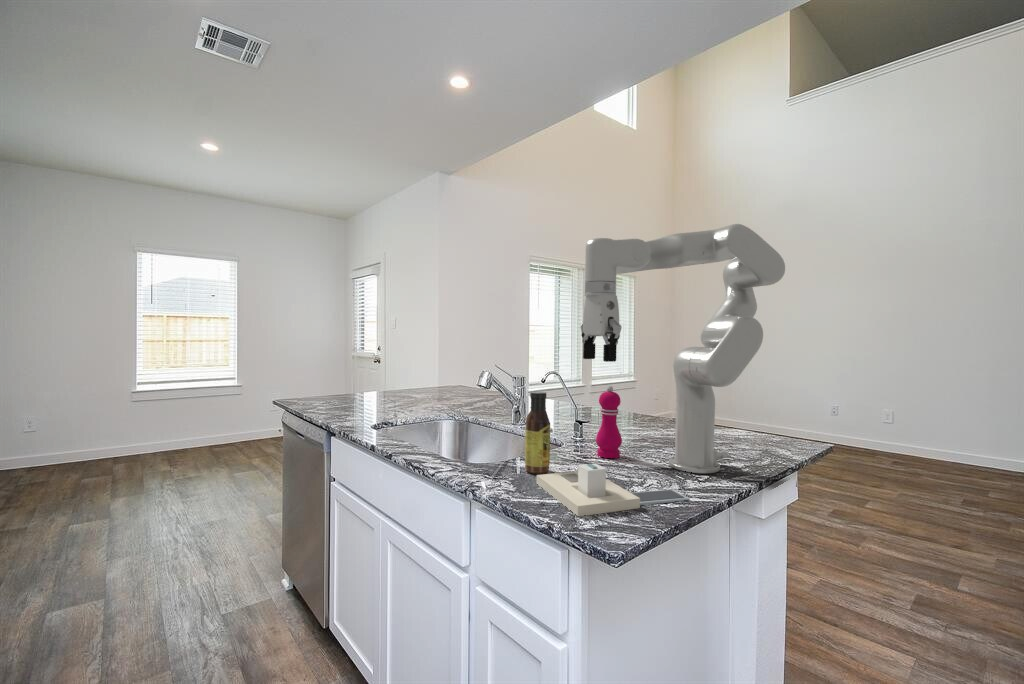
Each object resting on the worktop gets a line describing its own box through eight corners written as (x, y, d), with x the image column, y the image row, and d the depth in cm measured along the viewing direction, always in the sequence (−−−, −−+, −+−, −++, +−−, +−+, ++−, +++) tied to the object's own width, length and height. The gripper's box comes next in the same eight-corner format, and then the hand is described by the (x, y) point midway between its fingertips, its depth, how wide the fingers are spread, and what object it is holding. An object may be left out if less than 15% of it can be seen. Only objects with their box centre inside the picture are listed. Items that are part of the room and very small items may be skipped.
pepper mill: (593, 457, 131) (594, 386, 130) (598, 451, 137) (599, 383, 137) (619, 460, 128) (620, 388, 128) (623, 454, 135) (624, 385, 134)
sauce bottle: (547, 475, 114) (549, 394, 113) (522, 473, 115) (523, 393, 115) (551, 468, 120) (552, 391, 120) (527, 466, 121) (528, 390, 121)
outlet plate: (590, 478, 113) (590, 469, 113) (639, 508, 94) (640, 497, 94) (536, 483, 108) (536, 474, 108) (577, 516, 89) (577, 505, 89)
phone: (672, 493, 104) (672, 488, 104) (689, 503, 99) (689, 497, 99) (623, 497, 101) (624, 492, 101) (638, 507, 95) (638, 502, 95)
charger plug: (595, 495, 101) (595, 462, 100) (605, 502, 97) (606, 467, 97) (577, 497, 99) (578, 463, 99) (587, 504, 95) (587, 469, 95)
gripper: (634, 288, 108) (632, 362, 108) (595, 293, 124) (594, 357, 124) (605, 286, 105) (604, 362, 105) (570, 292, 121) (569, 358, 122)
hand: (599, 360), depth 115 cm, fingers open, 9 cm apart
